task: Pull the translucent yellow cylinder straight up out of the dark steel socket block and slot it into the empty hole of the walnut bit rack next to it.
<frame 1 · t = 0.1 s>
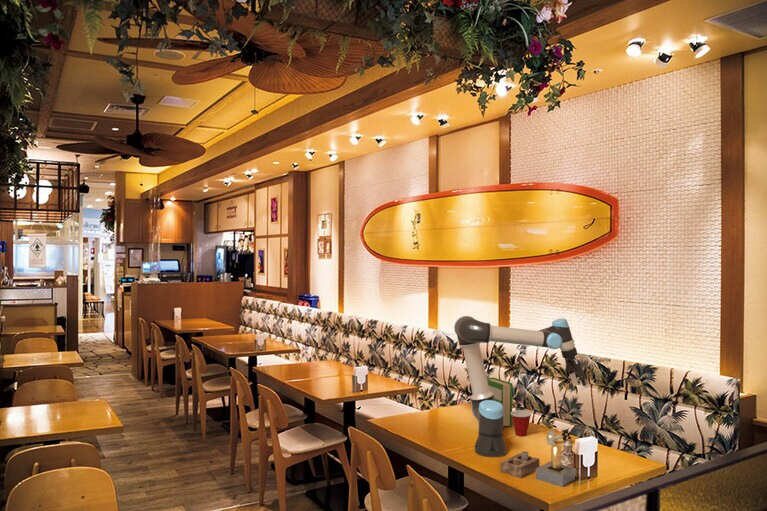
hand: (580, 388, 302), 28 cm above the table, tool tilted 20°, fingers open, 13 cm apart
figurine: (567, 467, 266), on the table
ball valve: (557, 444, 301), on the table
bit rack: (520, 470, 261), on the table
socket block: (555, 479, 252), on the table
hardback book: (496, 423, 336), on the table
translucent yellow cylinder: (556, 462, 252), in the socket block
plastic cup: (520, 435, 314), on the table
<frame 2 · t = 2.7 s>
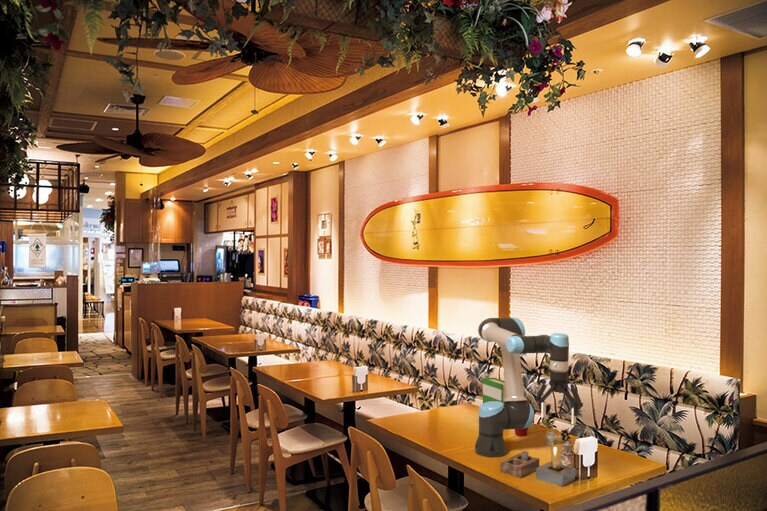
hand: (558, 420, 252), 25 cm above the table, tool pointing down, fingers open, 13 cm apart
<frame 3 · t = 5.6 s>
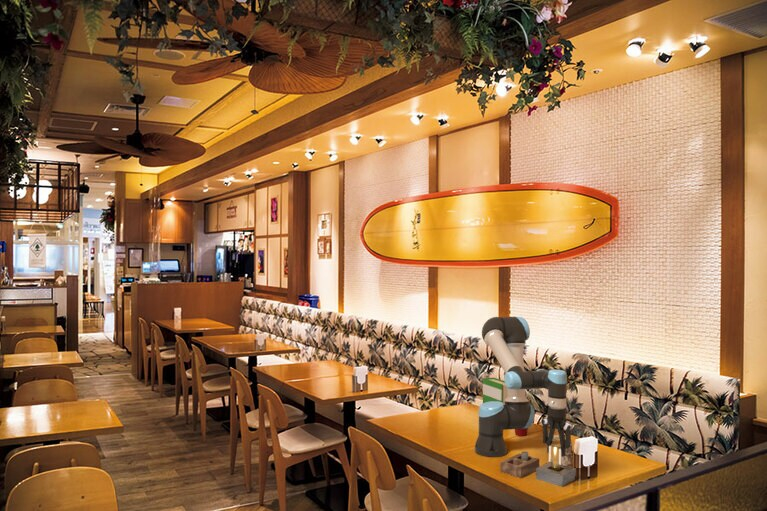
hand: (556, 462, 252), 7 cm above the table, tool pointing down, fingers closed on translucent yellow cylinder, 4 cm apart
translucent yellow cylinder: (556, 462, 252), in the socket block, touching gripper
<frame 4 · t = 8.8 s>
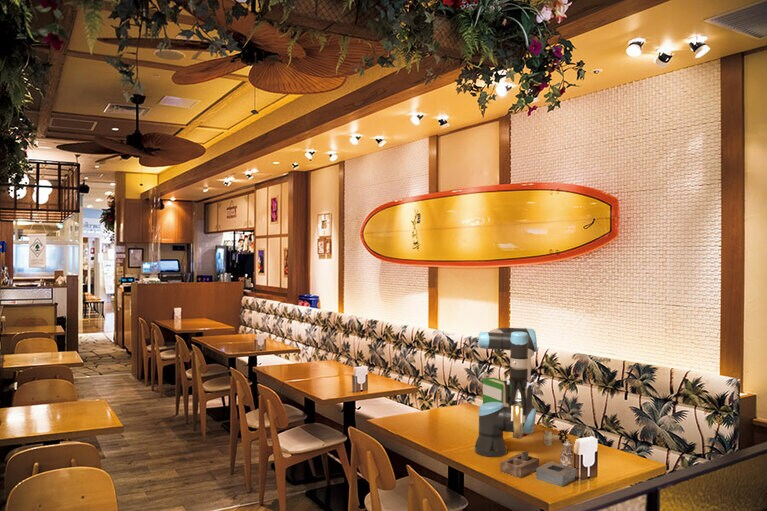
hand: (518, 421, 259), 22 cm above the table, tool pointing down, fingers closed on translucent yellow cylinder, 4 cm apart
translucent yellow cylinder: (518, 421, 259), point 22 cm above the table, touching gripper
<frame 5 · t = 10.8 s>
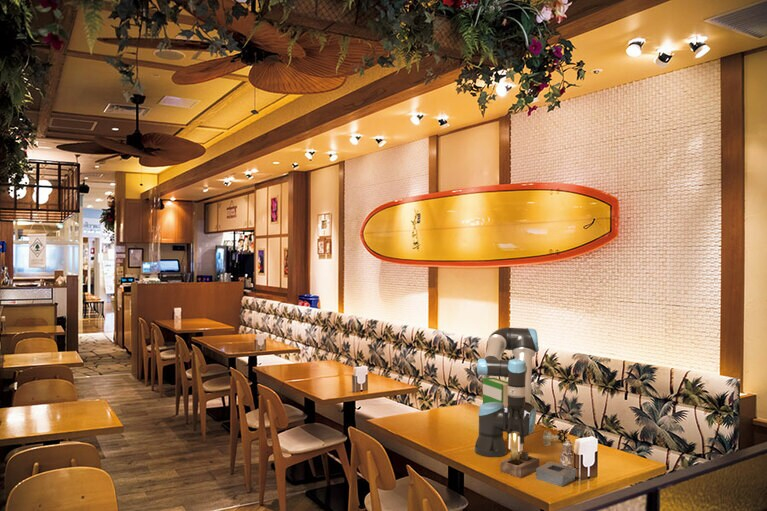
hand: (515, 449, 258), 10 cm above the table, tool pointing down, fingers closed on translucent yellow cylinder, 4 cm apart
translucent yellow cylinder: (515, 448, 258), point 11 cm above the table, touching gripper
when the fingers open (9 cm above the table, at t = 12.1 s): translucent yellow cylinder drops 3 cm, resting in bit rack.
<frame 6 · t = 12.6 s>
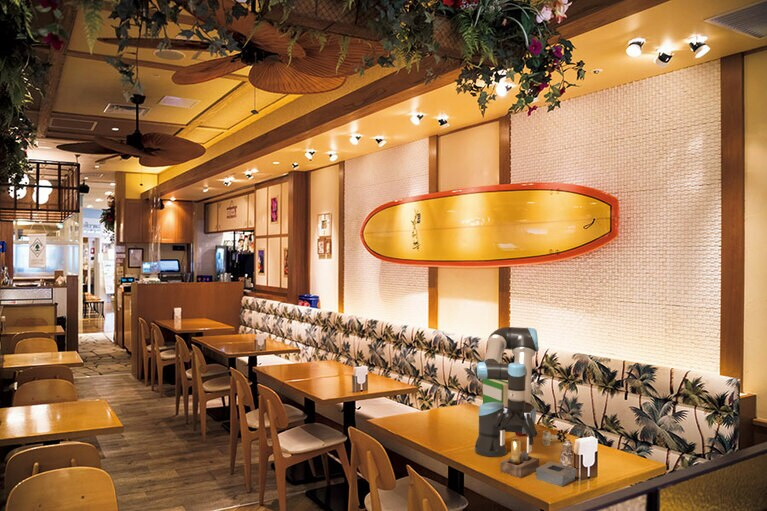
hand: (515, 448, 259), 11 cm above the table, tool pointing down, fingers open, 12 cm apart
translucent yellow cylinder: (515, 456, 258), resting in bit rack
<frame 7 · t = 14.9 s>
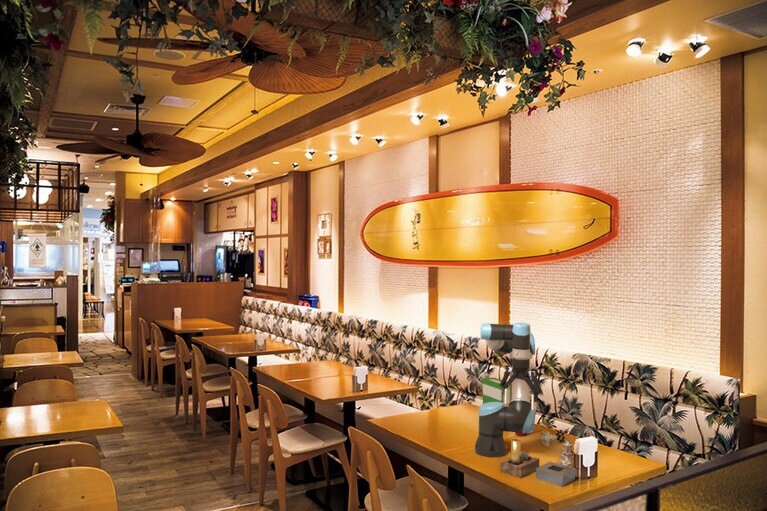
hand: (520, 406, 263), 28 cm above the table, tool pointing down, fingers open, 13 cm apart
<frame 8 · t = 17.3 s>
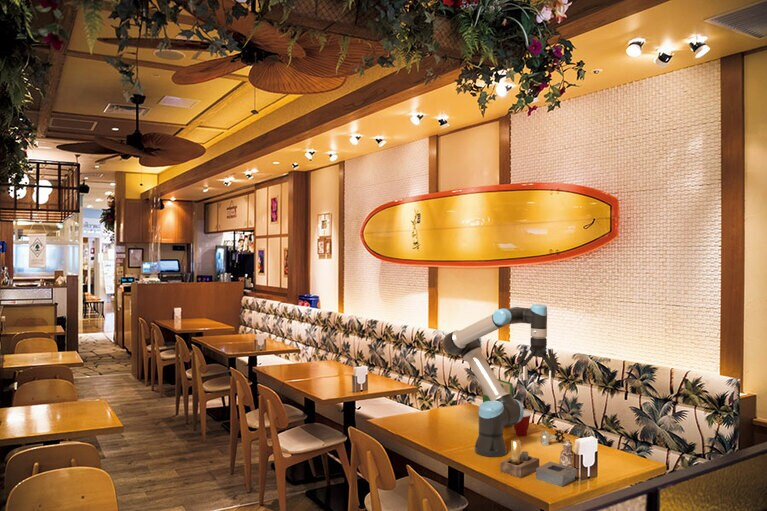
hand: (537, 382, 282), 35 cm above the table, tool pointing down, fingers open, 13 cm apart
at the end: translucent yellow cylinder 0.1 cm from the target spot on the bit rack, point 7.0 cm above the bit rack's base; translucent yellow cylinder tilted 0°; the gripper is holding nothing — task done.
